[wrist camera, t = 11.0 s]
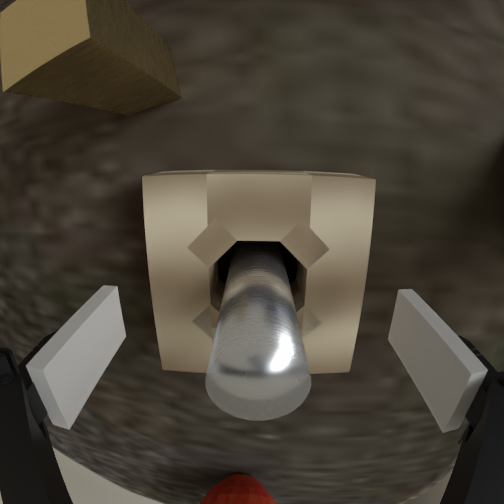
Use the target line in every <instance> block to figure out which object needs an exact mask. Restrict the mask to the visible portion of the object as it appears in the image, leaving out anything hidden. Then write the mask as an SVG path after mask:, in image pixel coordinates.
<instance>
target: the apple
mask: <svg viewBox="0 0 504 504" xmlns="http://www.w3.org/2000/svg"><path fill="white" fill-rule="evenodd" d="M200 504H277V503H276V502H275V501H274V499H273V498H272V497H271V495H270V494H269V493H268V491H267V490H266V489H265V488H264V487H263V486H262V485H261V484H260V483H259V482H258V481H257V480H256V479H255V478H254V477H252V476H250V475H247V474H233V475H230V476H228V477H226V478H225V479H224V480H222V481H221V482H219V483H218V484H217V485H216V486H215V487H213V488H212V489H211V490H210V491H209V492H208V493H207V494H206V496H205V497H204V499H203V500H202V501H201V503H200Z"/></svg>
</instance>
